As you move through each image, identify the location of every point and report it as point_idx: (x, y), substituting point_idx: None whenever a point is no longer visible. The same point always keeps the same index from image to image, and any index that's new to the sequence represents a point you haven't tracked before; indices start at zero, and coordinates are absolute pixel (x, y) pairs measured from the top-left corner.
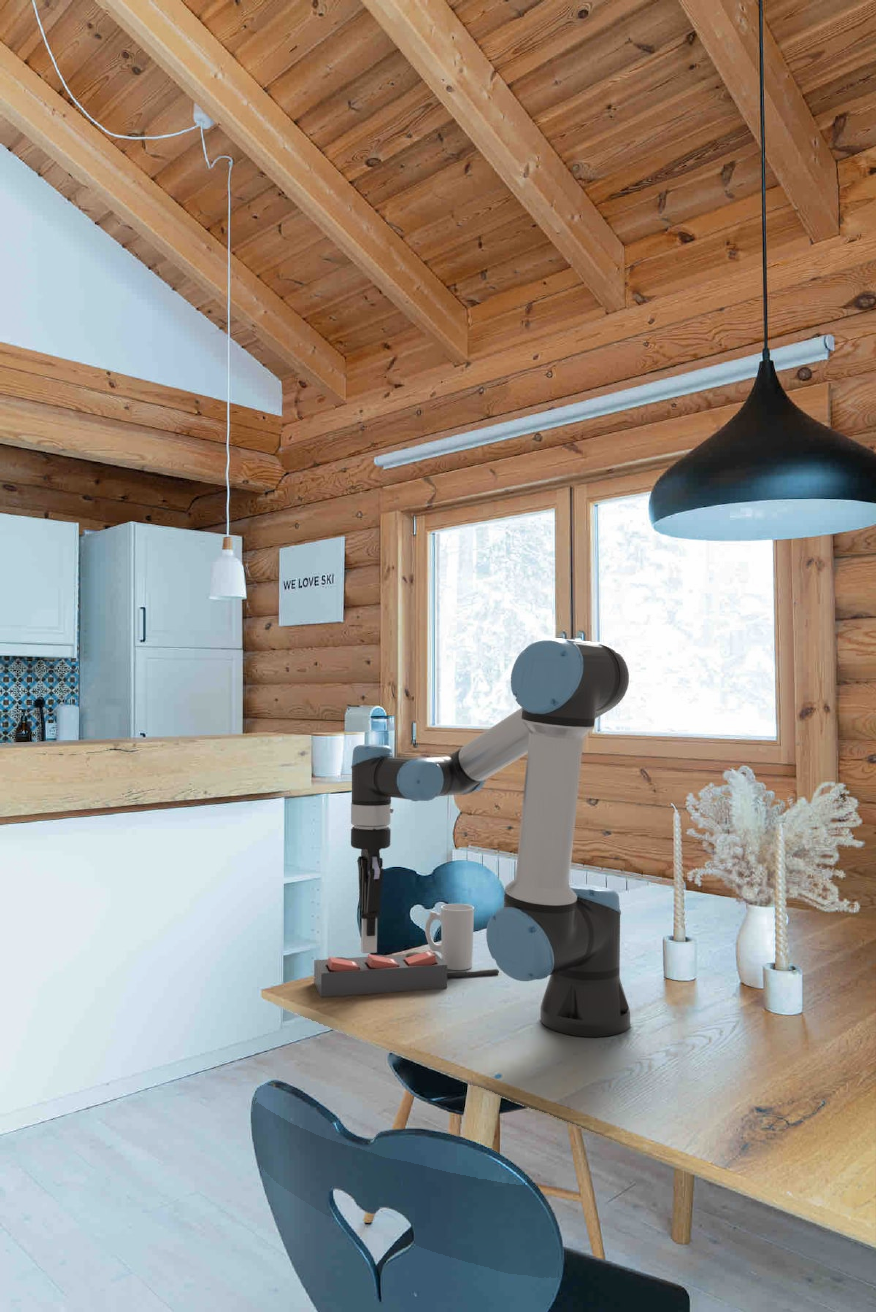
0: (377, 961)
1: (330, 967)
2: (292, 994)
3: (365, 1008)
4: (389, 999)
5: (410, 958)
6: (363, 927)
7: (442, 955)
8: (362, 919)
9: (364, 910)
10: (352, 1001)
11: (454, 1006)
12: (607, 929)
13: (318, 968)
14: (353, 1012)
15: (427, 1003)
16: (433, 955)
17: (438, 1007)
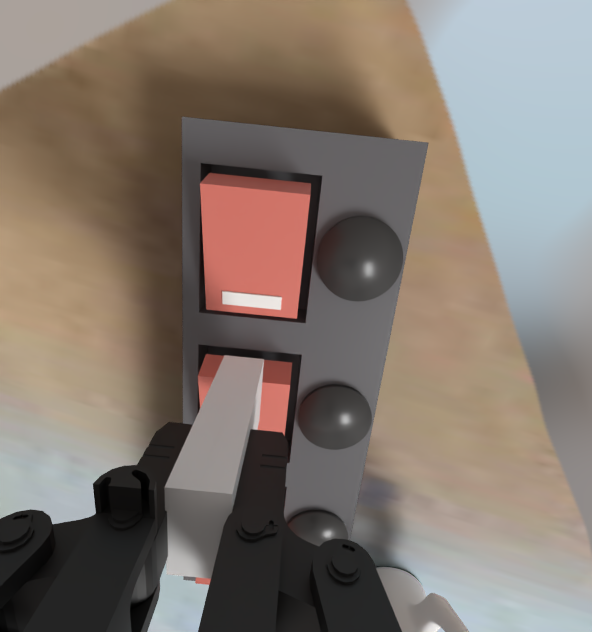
0: (199, 392)
1: (215, 175)
2: (282, 10)
3: (54, 252)
4: (133, 349)
5: None
6: (188, 439)
7: (392, 600)
8: (201, 477)
9: (122, 555)
10: (136, 232)
11: (40, 481)
12: None
13: (281, 127)
14: (17, 201)
15: (76, 432)
16: (200, 578)
17: (37, 445)
